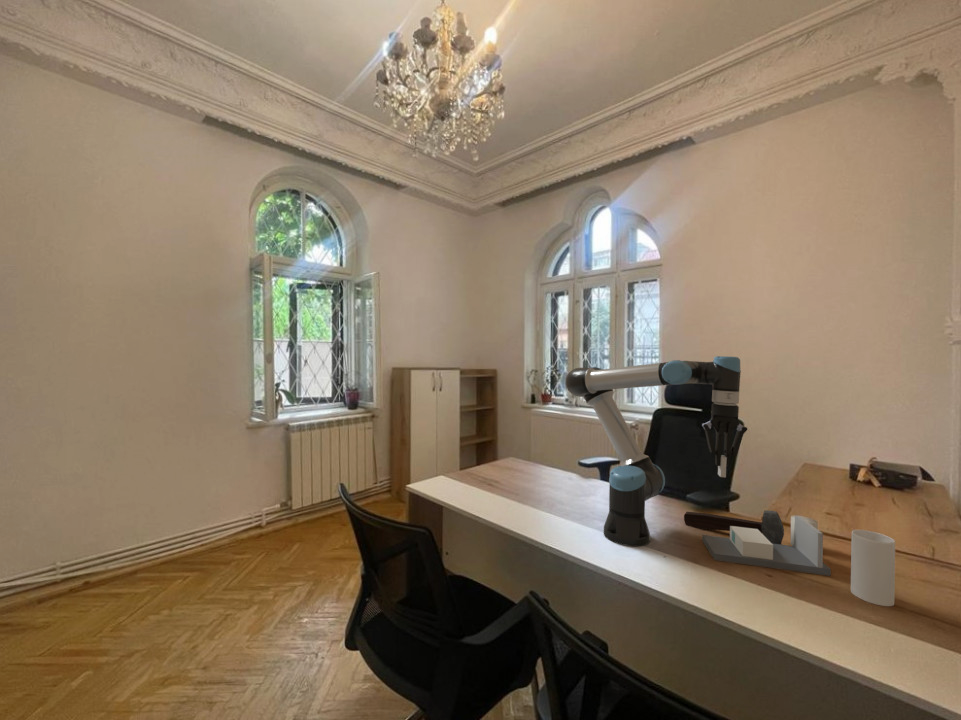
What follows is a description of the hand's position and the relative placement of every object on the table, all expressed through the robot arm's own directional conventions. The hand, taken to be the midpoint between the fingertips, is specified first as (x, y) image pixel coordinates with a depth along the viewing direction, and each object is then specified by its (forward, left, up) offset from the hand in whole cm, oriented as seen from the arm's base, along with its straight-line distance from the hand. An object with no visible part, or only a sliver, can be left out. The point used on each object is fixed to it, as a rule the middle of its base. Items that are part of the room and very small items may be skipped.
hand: (721, 475), depth 130 cm
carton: (+8, -1, -22) cm, 24 cm away
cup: (+31, -17, -25) cm, 43 cm away
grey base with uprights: (+11, -1, -24) cm, 27 cm away
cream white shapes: (+28, +12, -24) cm, 39 cm away
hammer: (+7, +15, -25) cm, 30 cm away
